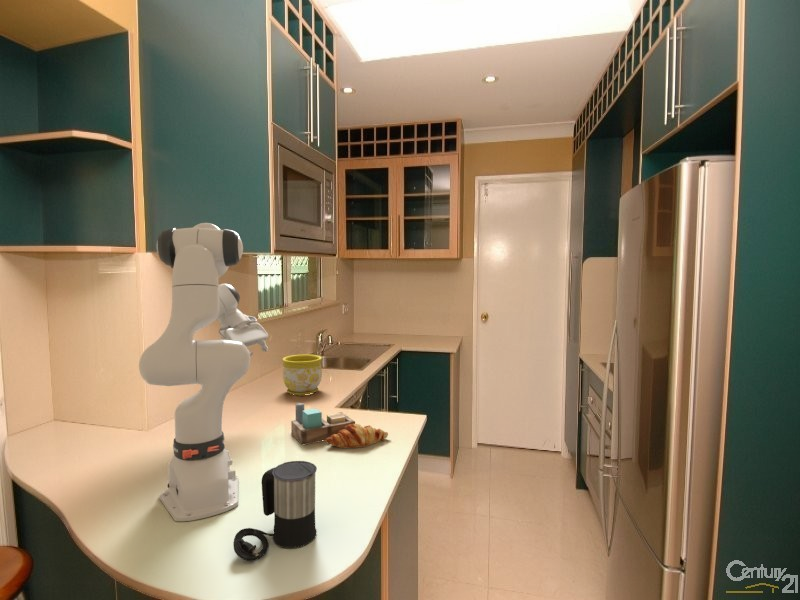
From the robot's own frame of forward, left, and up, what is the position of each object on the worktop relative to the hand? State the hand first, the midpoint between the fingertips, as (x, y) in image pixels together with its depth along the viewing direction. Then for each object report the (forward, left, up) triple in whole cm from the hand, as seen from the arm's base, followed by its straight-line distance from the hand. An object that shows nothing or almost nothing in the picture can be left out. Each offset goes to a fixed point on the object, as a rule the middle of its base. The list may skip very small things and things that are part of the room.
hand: (258, 352), depth 163 cm
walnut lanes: (-22, -17, -27) cm, 38 cm away
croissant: (-36, -23, -27) cm, 51 cm away
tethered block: (-17, -12, -27) cm, 34 cm away
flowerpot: (+33, -28, -27) cm, 51 cm away
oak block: (-23, -21, -27) cm, 41 cm away
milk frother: (-76, +14, -27) cm, 82 cm away
